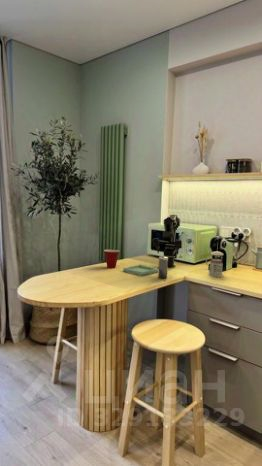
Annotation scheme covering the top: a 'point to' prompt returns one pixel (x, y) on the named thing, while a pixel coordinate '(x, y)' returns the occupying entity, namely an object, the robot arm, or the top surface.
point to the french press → (215, 262)
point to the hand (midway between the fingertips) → (165, 254)
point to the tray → (140, 270)
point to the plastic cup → (111, 258)
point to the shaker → (163, 267)
